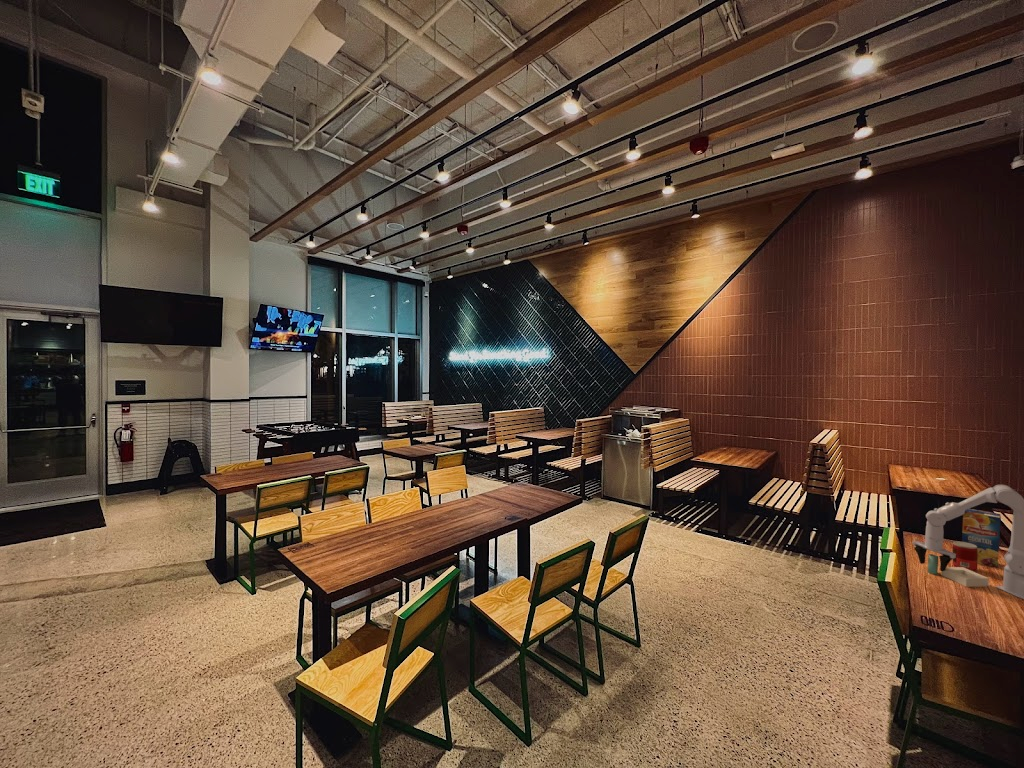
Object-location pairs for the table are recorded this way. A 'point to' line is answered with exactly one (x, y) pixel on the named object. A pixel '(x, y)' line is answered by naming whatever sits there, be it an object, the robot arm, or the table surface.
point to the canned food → (965, 555)
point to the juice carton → (983, 535)
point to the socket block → (965, 577)
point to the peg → (933, 564)
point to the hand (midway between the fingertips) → (932, 566)
